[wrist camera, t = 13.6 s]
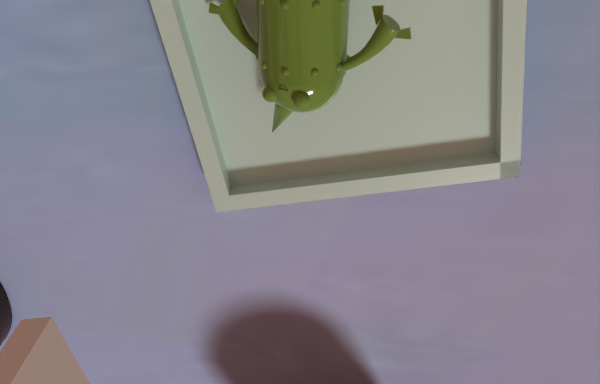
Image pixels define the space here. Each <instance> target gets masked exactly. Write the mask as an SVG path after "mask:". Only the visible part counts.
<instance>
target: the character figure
mask: <svg viewBox="0 0 600 384" xmlns="http://www.w3.org/2000/svg"><path fill="white" fill-rule="evenodd" d="M237 5H238V0H227V1H225V2H224V3H222V4H221V5H219V6H217V5H215V4H213V3H210V4H209V13H213V14H218V15H219V16H220V18H221V20H222V22H223V23H224V25H225V26H226V27H227V29H228V30H229V31H230V33H231V34H232V35H233V36H234V37H235V38H236V39H237V40H238V41H239V42H240V43H241V44H242V45H244V46H245V47H246V48H247V49H248V50H249V51H250V52H252V53H253V54H254V55H256V59H257V60H258V64H259V74H260V78H261V82H262V85H263V87H264V89H263V91H262V96H263V98H264V100H266V101H267V102H275V107H274V117H273V127H272V133H273V132H274V131H275V130H276V129H277V127H278V126H279V125H280V124H281V123H282V122H283V121H284V120H285V119H286V118H287V117H288V116H289V115H290V114H291V113H292V112H299V113H304V112H311V111H315V110H318V109H320V108H322V107H323V106H325V105H326V104H328V103H329V102H330V101H331V100H332V99H333V98H334V97H335V96H336V94H337V93H338V91H339V90H340V88H341V85H342V82H343V78H344V76H345V74H346V71H348V70H350V69H352V68H355V67H357V66H359V65H361V64H363V63H365V62H367V61H369V60H370V59H372V58H373V57H375V56H376V55H378V54H379V53H381V52H382V51H383V50H384V49H385V48H386V47H387V46H388V45H389V44H390V43H391V42H392V41H393V39H394V38H401V39H411V29H410V27H409V28H404V29H400V26H399V24H398V23H397V22H396V21H395V20H394V19H393V18H391V17H390V16H388V15H383V13H384V5H375V6H372V10H373V14H374V19H375V23H376V26H377V25H378V26H377V27H376V29H375V31H374V33H373V35H372V36H371V38H370V39H369V41H368V42H367V44H366V45H365V47H364V48H363V49H362V50H361V51H359V52H358V53H357V54H355V55H353V56H351V57H350V56H349V55H347V47H348V29H349V10H350V0H256V9H257V36H258V43H257V42H256V41H255V40H254V39H253V38H252V37H251V36H250V34H249V33H248V31H247V29H246V27H245V26H244V24H243V22H242V19H241V17H240V15H239V12H238V10H237ZM379 21H380V22H379ZM378 23H379V24H378Z"/></svg>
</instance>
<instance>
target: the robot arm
mask: <svg viewBox="0 0 600 384" xmlns="http://www.w3.org/2000/svg"><path fill="white" fill-rule="evenodd" d="M11 323H12V312H11V307H10V303H9V300H8V298H7V296H6V293H5V292H4V290H3V288H2V287H1V285H0V345H1V344H2V342H3V341H4V339H5V338H6V337H7V335H8V333H9V331H10V328H11ZM0 384H90V383H89V381H88V379H87V378H86V376H85V374H84V372H83V371H82V369H81V367H80V365H79V364H78V362H77V360H76V359H75V357H74V355H73V353H72V352H71V350H70V348H69V346H68V345H67V343H66V341H65V340H64V338H63V336H62V334H61V333H60V331H59V329H58V327H57V326H56V324H55V322H54V321H53V319H52V317H45V318H35V319H25V320H21V322H20V323H19V325H18V326H17V328H16V329H15V331H14V332H13V334H12V335H11V337H10V338H9V340H8V341H7V343H6V344H5V346H4V347H3V349H2V350H1V352H0Z"/></svg>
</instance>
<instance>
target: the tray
mask: <svg viewBox="0 0 600 384" xmlns="http://www.w3.org/2000/svg"><path fill="white" fill-rule="evenodd" d="M225 1H227V0H150V3H151V6H152V9H153V12H154V15H155V19H156V22H157V25H158V28H159V31H160V35H161V38H162V41H163V44H164V47H165V50H166V54H167V57H168V60H169V63H170V66H171V70H172V73H173V76H174V79H175V82H176V85H177V89H178V92H179V95H180V98H181V101H182V104H183V108H184V111H185V114H186V117H187V120H188V124H189V127H190V130H191V133H192V136H193V139H194V143H195V146H196V149H197V152H198V155H199V158H200V162H201V165H202V168H203V171H204V174H205V178H206V181H207V184H208V187H209V190H210V193H211V197H212V200H213V203H214V206H215V209H216V212H224V211H232V210H241V209H249V208H257V207H266V206H274V205H283V204H291V203H300V202H308V201H317V200H325V199H334V198H342V197H350V196H359V195H367V194H376V193H384V192H393V191H401V190H410V189H418V188H427V187H435V186H444V185H452V184H460V183H469V182H477V181H486V180H494V179H503V178H511V177H520V161H521V136H522V111H523V86H524V61H525V36H526V10H527V0H350V10H349V29H348V47H347V55H349V56H350V57H351V56H353V55H355V54H357V53H358V52H359V51H361V50H362V49H363V48H364V47H365V45H366V44H367V42H368V41H369V39H370V38H371V36H372V35H373V33H374V31H375V29H376V27H377V26H378V25H377V26H376V23H375V19H374V14H373V10H372V6H375V5H384V13H383V15H388V16H390V17H391V18H393V19H394V20H395V21H396V22H397V23H398V24H399V26H400V29H404V28H409V27H410V29H411V39H401V38H394V39H393V41H392V42H391V43H390V44H389V45H388V46H387V47H386V48H385V49H384V50H383V51H382V52H381V53H379V54H378V55H376V56H375V57H373V58H372V59H370V60H369V61H367V62H365V63H363V64H361V65H359V66H357V67H355V68H352V69H350V70H348V71H346V74H345V76H344V78H343V82H342V85H341V88H340V90H339V91H338V93H337V94H336V96H335V97H334V98H333V99H332V100H331V101H330V102H329V103H328V104H326V105H325V106H323V107H322V108H320V109H318V110H315V111H311V112H304V113H299V112H292V113H291V114H290V115H289V116H288V117H287V118H286V119H285V120H284V121H283V122H282V123H281V124H280V125H279V126H278V127H277V129H276V130H275V131H274V132H273V133H272V127H273V117H274V107H275V102H267V101H266V100H264V98H263V96H262V91H263V89H264V87H263V85H262V82H261V78H260V74H259V64H258V60H257V59H256V55H254V54H253V53H252V52H250V51H249V50H248V49H247V48H246V47H245V46H244V45H242V44H241V43H240V42H239V41H238V40H237V39H236V38H235V37H234V36H233V35H232V34H231V33H230V31H229V30H228V29H227V27H226V26H225V25H224V23H223V22H222V20H221V18H220V16H219V15H218V14H213V13H209V4H210V3H213V4H215V5H217V6H219V5H221V4H222V3H224V2H225ZM237 10H238V12H239V15H240V17H241V19H242V22H243V24H244V26H245V27H246V29H247V31H248V33H249V34H250V36H251V37H252V38H253V39H254V40H255V41H256V42H257V43H258V36H257V9H256V0H238V5H237ZM379 22H380V21H379ZM378 24H379V23H378Z"/></svg>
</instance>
